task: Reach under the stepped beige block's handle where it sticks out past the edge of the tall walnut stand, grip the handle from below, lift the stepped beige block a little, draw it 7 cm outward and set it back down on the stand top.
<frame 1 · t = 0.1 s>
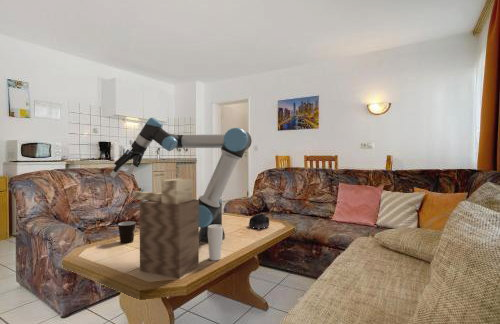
hand: (120, 175, 151), 36 cm above the table, tool tilted 35°, fingers open, 13 cm apart
drinking glass: (215, 259, 126), on the table
stepped beige block: (177, 201, 114), point 28 cm above the table, touching stand
black rounded lump: (258, 227, 184), on the table
stand: (170, 267, 116), on the table
coffee mug: (128, 241, 152), on the table
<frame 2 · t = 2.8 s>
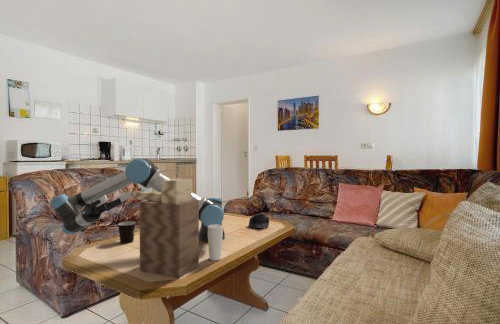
hand: (118, 195, 125), 29 cm above the table, tool pointing upward, fingers open, 13 cm apart
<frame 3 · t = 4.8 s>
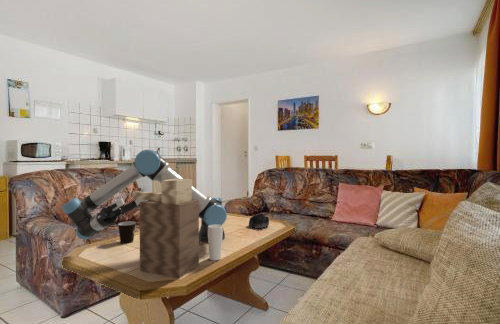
hand: (135, 198, 121), 28 cm above the table, tool pointing upward, fingers open, 13 cm apart
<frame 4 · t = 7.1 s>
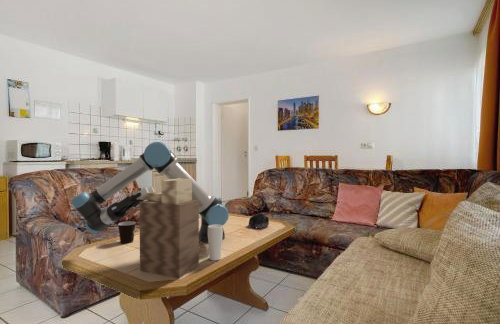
hand: (150, 189, 118), 32 cm above the table, tool pointing upward, fingers closed on stepped beige block, 3 cm apart
stepped beige block: (177, 201, 114), point 28 cm above the table, touching gripper
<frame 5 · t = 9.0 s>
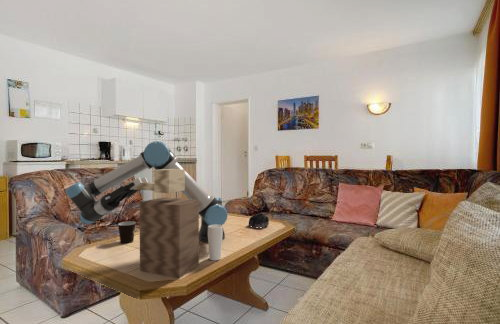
hand: (143, 179, 119), 36 cm above the table, tool pointing upward, fingers closed on stepped beige block, 3 cm apart
stepped beige block: (170, 191, 115), point 32 cm above the table, touching gripper
when the fingers open (33 cm above the table, at t = 10.9 s): stepped beige block stays where it is, resting on stand.
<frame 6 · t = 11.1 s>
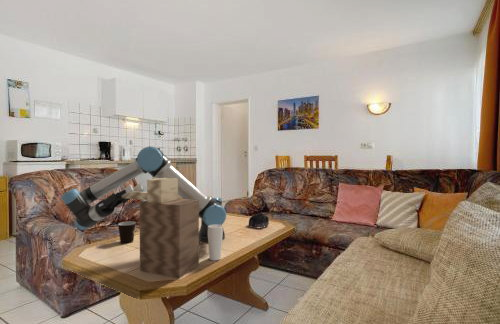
hand: (136, 186, 121), 33 cm above the table, tool pointing upward, fingers open, 5 cm apart
stepped beige block: (162, 200, 116), point 28 cm above the table, touching stand
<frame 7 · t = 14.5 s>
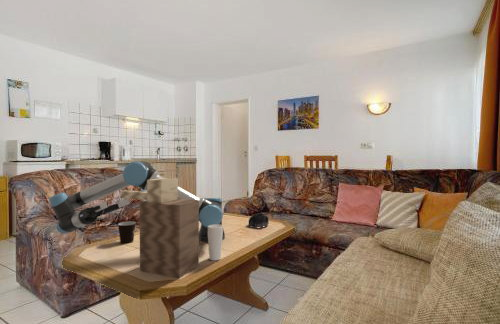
hand: (118, 202, 128), 25 cm above the table, tool pointing upward, fingers open, 13 cm apart
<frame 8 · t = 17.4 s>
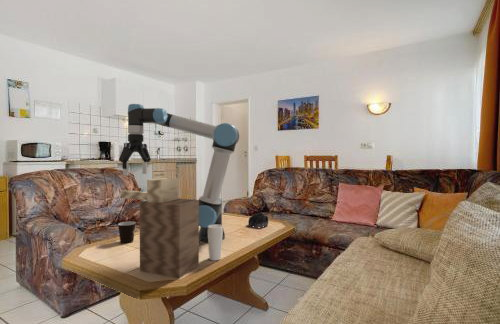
hand: (135, 174, 146), 37 cm above the table, tool pointing down, fingers open, 13 cm apart
at the end: stepped beige block 0.2 cm from the target spot, point 28.0 cm above the table; stepped beige block tilted 0°; the gripper is holding nothing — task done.
